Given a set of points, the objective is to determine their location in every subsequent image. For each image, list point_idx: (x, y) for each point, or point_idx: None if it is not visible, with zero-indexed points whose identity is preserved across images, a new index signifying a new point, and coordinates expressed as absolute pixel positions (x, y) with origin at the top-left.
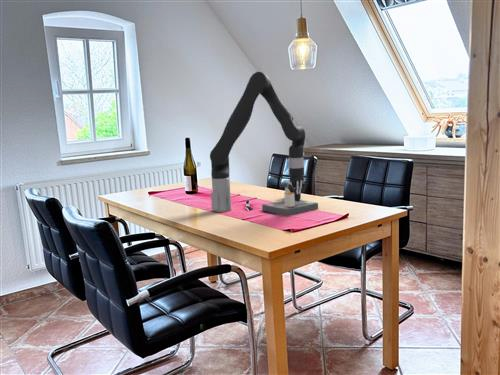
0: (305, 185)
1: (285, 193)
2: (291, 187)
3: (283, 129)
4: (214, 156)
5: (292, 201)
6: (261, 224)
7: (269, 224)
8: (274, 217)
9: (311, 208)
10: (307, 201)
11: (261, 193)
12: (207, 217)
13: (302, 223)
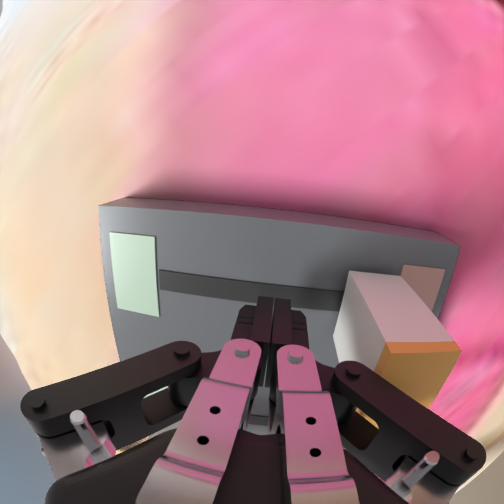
0: (85, 386)
1: (424, 406)
2: (437, 431)
3: None
4: None
5: (389, 294)
6: None
7: None
8: (484, 271)
9: (182, 203)
10: (117, 312)
11: None
12: (495, 429)
13: (492, 45)
